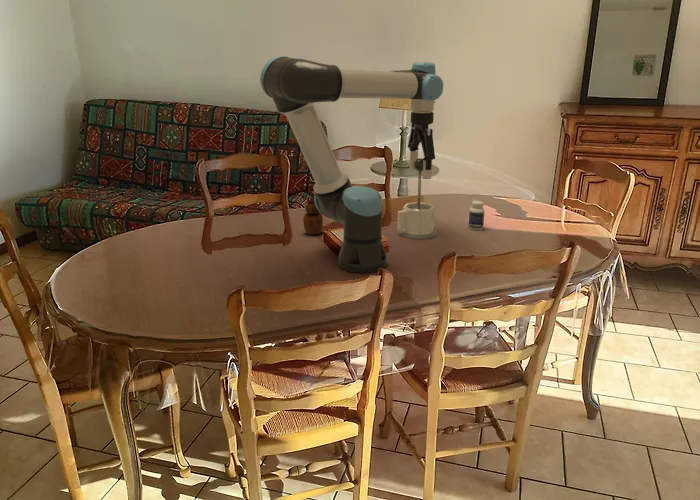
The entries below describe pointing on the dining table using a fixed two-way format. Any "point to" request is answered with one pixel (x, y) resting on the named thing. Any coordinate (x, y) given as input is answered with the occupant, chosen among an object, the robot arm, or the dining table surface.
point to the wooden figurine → (312, 218)
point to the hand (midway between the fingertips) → (420, 174)
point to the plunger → (419, 185)
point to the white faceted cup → (416, 222)
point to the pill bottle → (476, 216)
